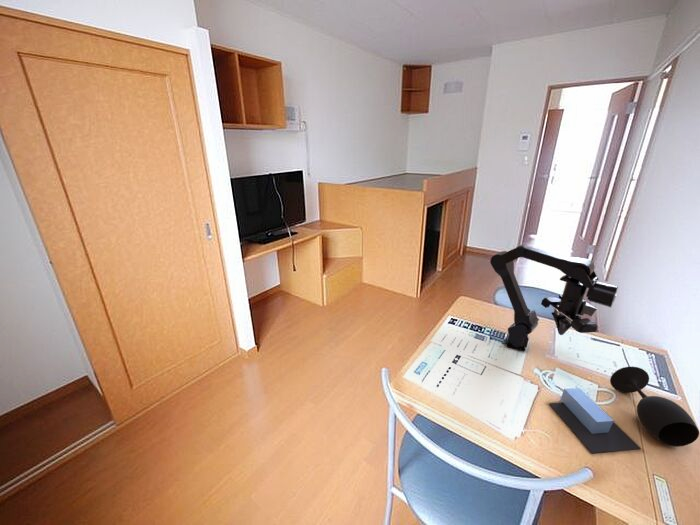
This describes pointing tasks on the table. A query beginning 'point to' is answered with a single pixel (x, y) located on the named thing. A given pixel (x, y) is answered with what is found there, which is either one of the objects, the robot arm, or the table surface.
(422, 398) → the table surface
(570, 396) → the blue block
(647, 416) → the wine glass
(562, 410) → the rubber mat
